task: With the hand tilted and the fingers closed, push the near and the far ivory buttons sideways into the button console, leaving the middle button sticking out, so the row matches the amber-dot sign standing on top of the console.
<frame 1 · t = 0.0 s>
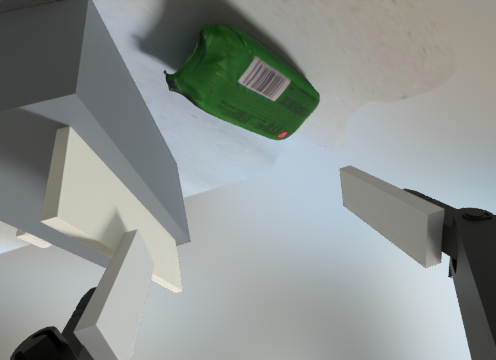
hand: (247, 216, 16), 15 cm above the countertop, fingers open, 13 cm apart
snack package: (247, 74, 25), on the countertop
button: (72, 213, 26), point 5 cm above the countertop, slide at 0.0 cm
pattern sign: (137, 204, 19), resting on console
console: (101, 118, 24), on the countertop
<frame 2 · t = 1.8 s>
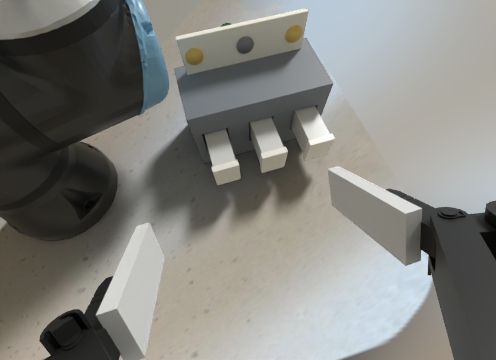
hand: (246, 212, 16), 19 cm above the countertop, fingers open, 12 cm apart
button middle: (265, 139, 35), point 5 cm above the countertop, slide at 0.0 cm
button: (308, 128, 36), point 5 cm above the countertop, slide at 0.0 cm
pattern sign: (244, 59, 34), resting on console
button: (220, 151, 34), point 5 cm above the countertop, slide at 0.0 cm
console: (252, 126, 42), on the countertop
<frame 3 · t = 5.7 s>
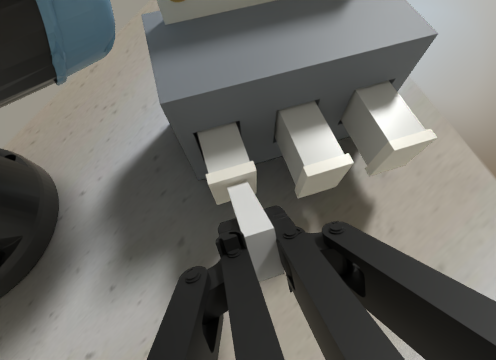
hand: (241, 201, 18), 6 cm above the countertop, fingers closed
button middle: (303, 140, 20), point 5 cm above the countertop, slide at 0.0 cm
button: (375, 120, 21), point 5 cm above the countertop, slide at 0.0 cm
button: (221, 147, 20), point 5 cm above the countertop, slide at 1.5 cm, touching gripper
console: (272, 121, 28), on the countertop
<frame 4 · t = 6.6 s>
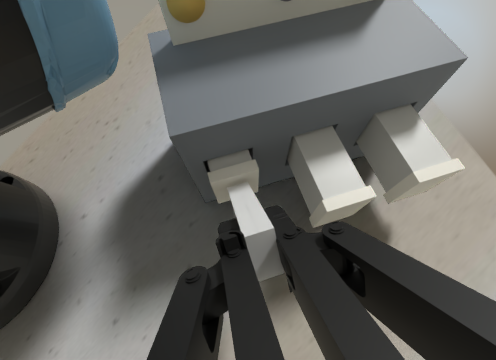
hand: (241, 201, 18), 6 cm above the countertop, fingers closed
button middle: (318, 166, 19), point 5 cm above the countertop, slide at 0.0 cm
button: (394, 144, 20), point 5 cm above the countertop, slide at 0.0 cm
pattern sign: (283, 17, 18), resting on console
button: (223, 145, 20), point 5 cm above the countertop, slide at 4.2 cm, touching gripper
console: (282, 138, 26), on the countertop
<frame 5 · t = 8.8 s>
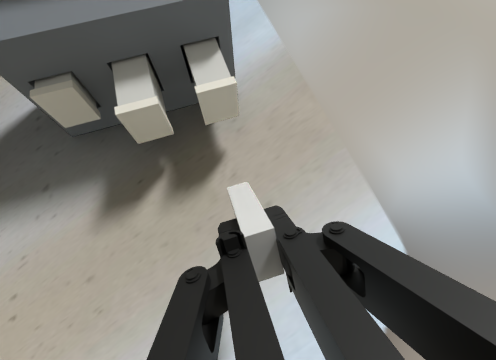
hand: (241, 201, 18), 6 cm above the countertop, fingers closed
button middle: (141, 92, 23), point 5 cm above the countertop, slide at 0.0 cm
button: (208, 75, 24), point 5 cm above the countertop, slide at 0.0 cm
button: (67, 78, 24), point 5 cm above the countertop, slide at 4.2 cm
console: (151, 85, 30), on the countertop
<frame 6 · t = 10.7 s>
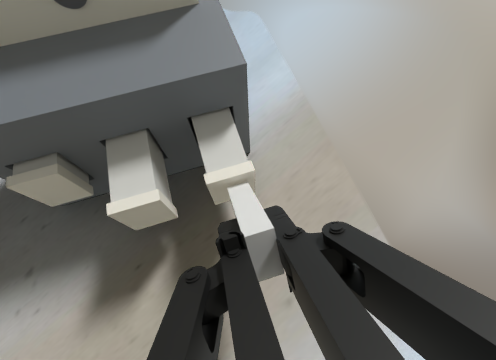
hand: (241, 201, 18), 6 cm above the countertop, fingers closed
button middle: (140, 170, 19), point 5 cm above the countertop, slide at 0.0 cm
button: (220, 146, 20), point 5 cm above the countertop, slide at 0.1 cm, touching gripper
pattern sign: (90, 24, 18), resting on console
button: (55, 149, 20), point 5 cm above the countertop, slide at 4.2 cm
console: (153, 141, 27), on the countertop
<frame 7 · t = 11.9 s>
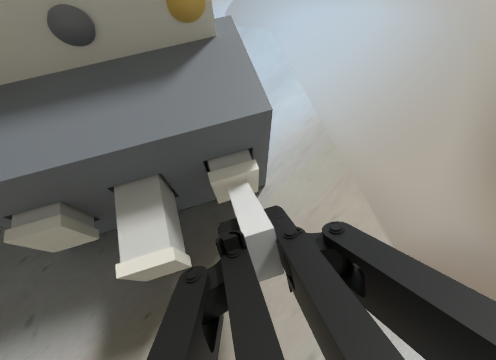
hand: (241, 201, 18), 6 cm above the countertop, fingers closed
button middle: (150, 216, 18), point 5 cm above the countertop, slide at 0.0 cm
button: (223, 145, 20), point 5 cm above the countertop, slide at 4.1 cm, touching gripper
pattern sign: (97, 59, 16), resting on console
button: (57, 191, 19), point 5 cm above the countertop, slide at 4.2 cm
console: (161, 172, 25), on the countertop
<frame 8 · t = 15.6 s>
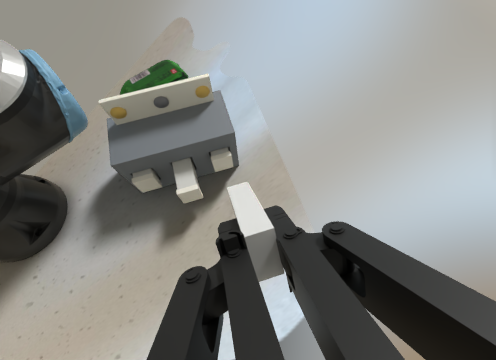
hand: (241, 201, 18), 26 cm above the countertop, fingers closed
snack package: (159, 95, 57), on the countertop
button middle: (186, 175, 42), point 5 cm above the countertop, slide at 0.0 cm
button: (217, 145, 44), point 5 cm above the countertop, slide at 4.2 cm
pattern sign: (166, 111, 41), resting on console
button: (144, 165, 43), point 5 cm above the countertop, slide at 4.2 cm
console: (186, 159, 49), on the countertop
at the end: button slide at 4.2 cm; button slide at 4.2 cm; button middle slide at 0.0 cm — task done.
